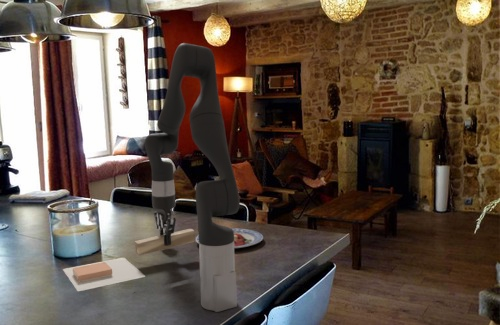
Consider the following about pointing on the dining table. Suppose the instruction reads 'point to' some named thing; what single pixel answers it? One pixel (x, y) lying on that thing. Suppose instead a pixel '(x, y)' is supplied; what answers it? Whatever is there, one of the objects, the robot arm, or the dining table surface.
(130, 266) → the white panel
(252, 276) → the dining table surface
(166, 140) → the robot arm
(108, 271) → the tile
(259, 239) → the ceramic plate
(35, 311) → the dining table surface
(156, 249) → the oak stick
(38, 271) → the dining table surface
